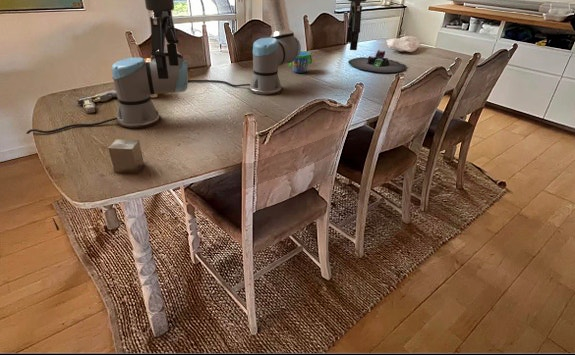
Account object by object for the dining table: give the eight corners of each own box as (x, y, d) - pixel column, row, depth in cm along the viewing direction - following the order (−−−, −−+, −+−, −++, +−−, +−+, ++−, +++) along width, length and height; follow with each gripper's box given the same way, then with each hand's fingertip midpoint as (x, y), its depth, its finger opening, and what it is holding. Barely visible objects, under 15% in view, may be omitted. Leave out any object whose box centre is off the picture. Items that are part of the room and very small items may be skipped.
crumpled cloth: (372, 47, 255) (376, 34, 249) (400, 41, 275) (404, 29, 269) (399, 60, 243) (404, 46, 237) (427, 52, 263) (432, 40, 257)
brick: (137, 173, 111) (131, 148, 106) (114, 172, 111) (108, 147, 106) (144, 163, 116) (139, 140, 111) (122, 162, 116) (116, 139, 111)
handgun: (128, 97, 156) (111, 87, 164) (86, 107, 144) (70, 97, 152) (129, 103, 157) (113, 94, 165) (88, 114, 146) (72, 103, 154)
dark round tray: (418, 67, 219) (420, 52, 215) (377, 75, 202) (379, 59, 197) (375, 58, 244) (377, 43, 239) (336, 64, 226) (337, 49, 222)
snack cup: (305, 67, 213) (306, 49, 208) (316, 72, 206) (318, 53, 200) (283, 70, 206) (283, 52, 200) (293, 75, 198) (294, 56, 193)
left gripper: (160, 0, 89) (172, 84, 101) (181, -11, 110) (189, 60, 122) (129, -1, 89) (144, 84, 100) (156, -11, 110) (166, 60, 121)
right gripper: (373, -6, 132) (364, 53, 144) (362, -13, 153) (355, 40, 165) (352, -7, 132) (345, 53, 144) (345, -14, 153) (339, 39, 165)
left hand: (169, 71), depth 111 cm, fingers open, 13 cm apart
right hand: (351, 46), depth 154 cm, fingers open, 13 cm apart
